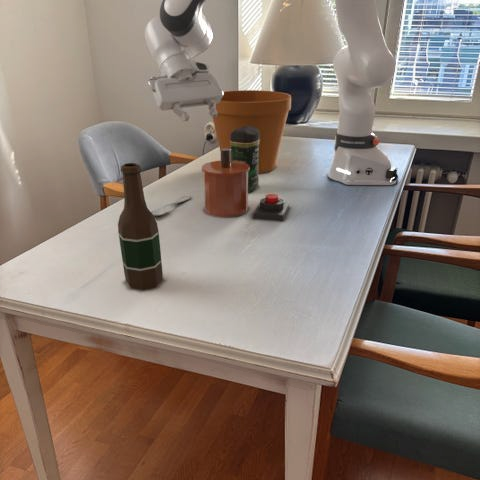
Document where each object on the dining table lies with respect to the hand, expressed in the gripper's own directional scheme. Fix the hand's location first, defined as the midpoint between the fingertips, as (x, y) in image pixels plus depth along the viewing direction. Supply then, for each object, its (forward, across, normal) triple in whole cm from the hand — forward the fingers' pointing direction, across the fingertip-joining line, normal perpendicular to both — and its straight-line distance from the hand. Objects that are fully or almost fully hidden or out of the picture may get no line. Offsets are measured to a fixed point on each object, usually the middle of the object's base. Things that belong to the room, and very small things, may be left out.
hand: (200, 117), depth 132 cm
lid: (+16, 0, 0) cm, 16 cm away
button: (+29, +8, -1) cm, 30 cm away
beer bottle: (+41, -40, -8) cm, 58 cm away
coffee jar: (+16, +16, +17) cm, 28 cm away
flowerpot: (+2, +34, +31) cm, 46 cm away
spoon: (+16, -12, +16) cm, 26 cm away
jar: (+24, 0, +8) cm, 25 cm away
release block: (+31, +8, +1) cm, 32 cm away
